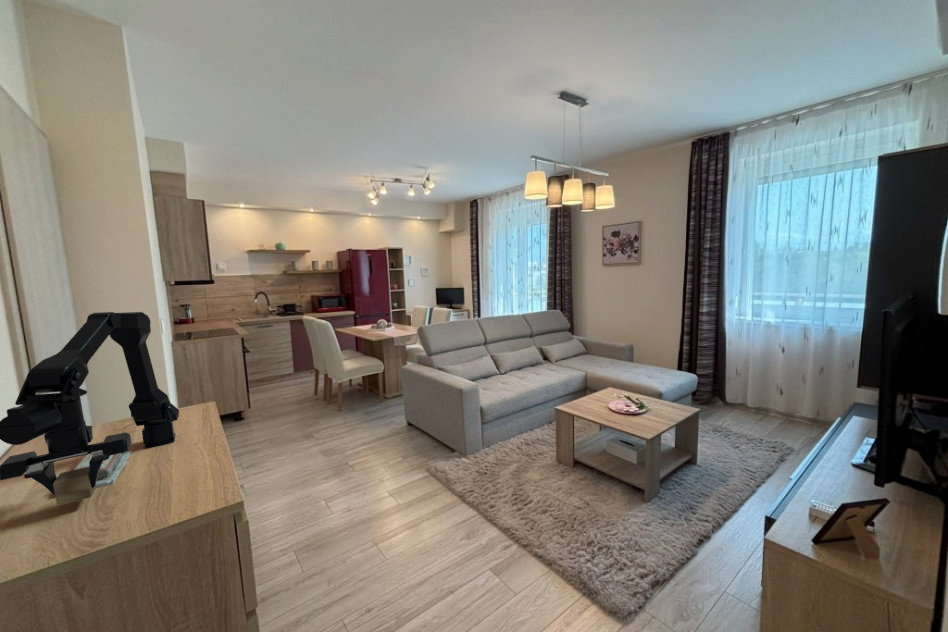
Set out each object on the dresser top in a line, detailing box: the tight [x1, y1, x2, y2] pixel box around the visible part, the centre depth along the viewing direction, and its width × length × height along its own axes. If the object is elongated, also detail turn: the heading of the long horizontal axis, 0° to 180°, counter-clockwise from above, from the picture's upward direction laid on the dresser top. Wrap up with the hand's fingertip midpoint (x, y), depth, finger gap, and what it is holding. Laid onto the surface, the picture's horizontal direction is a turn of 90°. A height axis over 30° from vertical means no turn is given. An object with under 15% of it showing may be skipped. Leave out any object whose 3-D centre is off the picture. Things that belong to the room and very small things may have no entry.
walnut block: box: [53, 466, 96, 507], centre depth 81 cm, size 5×5×5 cm
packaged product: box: [72, 449, 132, 489], centre depth 94 cm, size 18×5×10 cm
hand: (76, 491), depth 81 cm, fingers closed on walnut block, 5 cm apart
